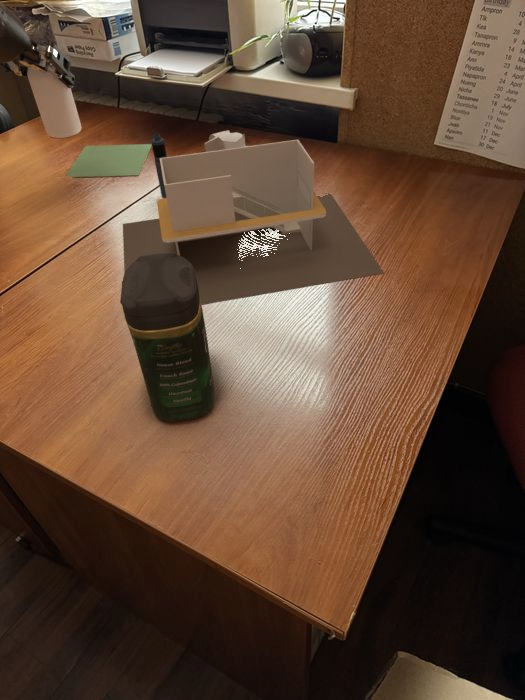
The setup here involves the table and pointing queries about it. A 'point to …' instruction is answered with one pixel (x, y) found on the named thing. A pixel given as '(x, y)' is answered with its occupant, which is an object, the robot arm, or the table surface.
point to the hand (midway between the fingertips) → (55, 81)
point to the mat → (110, 161)
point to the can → (54, 104)
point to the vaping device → (159, 153)
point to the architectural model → (250, 223)
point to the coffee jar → (169, 335)
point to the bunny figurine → (224, 141)
